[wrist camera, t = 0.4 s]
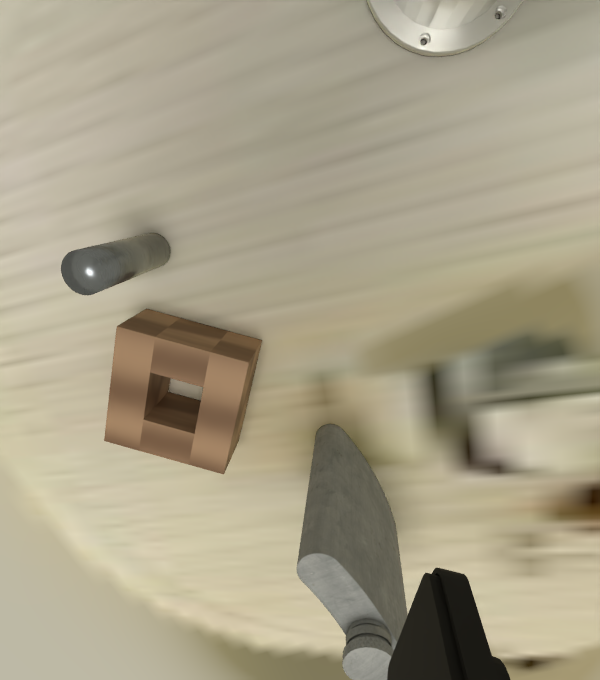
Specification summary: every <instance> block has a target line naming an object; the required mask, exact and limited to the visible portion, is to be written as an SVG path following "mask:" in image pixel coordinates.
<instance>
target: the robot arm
mask: <svg viewBox="0 0 600 680" xmlns="http://www.w3.org/2000/svg"><path fill="white" fill-rule="evenodd" d="M522 2H523V0H367V3H368V5H369V8H370V10H371V12H372V14H373V17H374V19H375V20H376V22H377V23H378V24H379V26H380V27H381V29H382V30H383V31H384V33H385V34H387V35H388V36H389V37H390V38H391V39H392V40H393V41H394V42H395V43H397V44H398V45H400V46H402V47H403V48H405V49H407V50H409V51H411V52H415V53H418V54H421V55H426V56H437V57H440V56H448V55H455V54H458V53H461V52H464V51H467V50H470V49H472V48H474V47H476V46H477V45H479V44H481V43H483V42H484V41H486V40H487V39H489V38H490V37H491V36H492V35H493V34H495V33H496V32H497V31H498V30H500V29H501V28H502V27H503V26H504V25H505V24H506V22H507V21H508V20H509V19H510V18H511V17H512V16H513V14H514V13H515V11H516V10H517V9H518V7H519V6H520V5H521V3H522ZM496 13H498V14H500V19H496V18H495V14H496ZM422 39H425V40H426V42H427V43H426V45H421V43H420V41H421V40H422ZM387 680H510V677H509V674H508V672H507V670H506V667H505V665H504V664H503V663H502V661H501V660H500V659H498V658H496V657H493V656H492V655H491V652H490V648H489V645H488V642H487V639H486V636H485V632H484V629H483V626H482V623H481V620H480V616H479V613H478V610H477V607H476V603H475V600H474V597H473V594H472V591H471V587H470V584H469V581H468V579H467V577H466V576H465V575H464V574H461V573H457V572H453V571H449V570H445V569H441V568H435V569H434V571H433V573H432V574H429V573H425V574H424V576H423V578H422V580H421V583H420V585H419V588H418V590H417V593H416V595H415V598H414V601H413V603H412V606H411V608H410V611H409V613H408V616H407V619H406V621H405V624H404V626H403V629H402V631H401V634H400V636H399V639H398V642H397V644H396V647H395V649H394V652H393V654H392V657H391V659H390V662H389V667H388V674H387Z"/></svg>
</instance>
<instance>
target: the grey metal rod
mask: <svg viewBox="0 0 600 680" xmlns="http://www.w3.org/2000/svg"><path fill="white" fill-rule="evenodd" d="M170 253H171V252H170V246H169V244H168V242H167V240H166V239H165V238H164V237H163V236H161V235H159V234H156V233H149V234H144V235H140V236H135V237H131V238H127V239H122V240H118V241H113V242H109V243H105V244H100V245H96V246H91V247H87V248H83V249H78V250H74V251H71V252H69V253H68V254H67V255H66V256H65V257H64V259H63V261H62V265H61V272H62V276H63V279H64V281H65V282H66V284H67V285H68V286H69V287H70V288H71V289H72V290H73V291H75V292H77V293H79V294H82V295H92V294H95V293H97V292H100V291H102V290H104V289H107V288H109V287H112V286H114V285H117V284H119V283H121V282H124V281H126V280H129V279H131V278H134V277H136V276H138V275H141V274H143V273H146V272H148V271H151V270H153V269H155V268H158V267H160V266H163V265H164V264H166V263H167V261H168V260H169V258H170Z"/></svg>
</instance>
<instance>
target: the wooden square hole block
mask: <svg viewBox="0 0 600 680" xmlns="http://www.w3.org/2000/svg"><path fill="white" fill-rule="evenodd" d="M261 343H262V340H259V339H255V338H252V337H248V336H244V335H241V334H237V333H233V332H230V331H226V330H222V329H219V328H215V327H211V326H208V325H204V324H200V323H197V322H193V321H189V320H186V319H182V318H178V317H175V316H171V315H167V314H164V313H160V312H156V311H153V310H149V309H145V310H144V311H142V312H140V313H139V314H137V315H135V316H134V317H132V318H130V319H128V320H127V321H125V322H123V323H122V324H120V325H118V326H117V329H116V338H115V347H114V356H113V366H112V375H111V384H110V393H109V402H108V411H107V420H106V429H105V439H104V441H107V442H110V443H114V444H117V445H121V446H125V447H128V448H132V449H135V450H139V451H142V452H146V453H150V454H153V455H157V456H160V457H164V458H167V459H171V460H175V461H178V462H182V463H185V464H189V465H192V466H196V467H200V468H203V469H207V470H210V471H214V472H217V473H221V474H224V473H225V470H226V468H227V466H228V464H229V461H230V459H231V457H232V455H233V452H234V450H235V448H236V446H237V443H238V441H239V437H240V433H241V429H242V424H243V420H244V416H245V411H246V407H247V403H248V398H249V394H250V390H251V386H252V381H253V377H254V373H255V368H256V364H257V360H258V355H259V351H260V347H261ZM170 378H172V379H176V380H179V381H183V382H186V383H190V384H194V385H197V386H201V387H203V392H202V398H201V401H199V400H195V399H192V398H188V397H184V396H181V395H177V394H173V393H170V392H168V390H169V384H170Z"/></svg>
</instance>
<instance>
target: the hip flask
mask: <svg viewBox="0 0 600 680" xmlns="http://www.w3.org/2000/svg"><path fill="white" fill-rule="evenodd" d="M297 574H298V576H299V578H300V579H301V581H302V582H303V583H304V584H305V585H306V586H307V587H308V588H309V589H310V590H311V591H312V592H313V593H314V594H315V595H316V596H317V598H318V599H319V600H320V601H321V602H322V603H323V605H324V606H325V607H326V608H327V609H328V611H329V612H330V613H331V615H332V616H333V617H334V619H335V620H336V621H337V623H338V624H339V626H340V627H341V628H342V630H343V632H344V633H345V635H346V646H345V647H344V650H343V669H344V672H346V675H348V676H349V678H351V679H352V680H387V674H388V667H389V662H390V659H391V657H392V654H393V652H394V649H395V647H396V644H397V642H398V639H399V636H400V634H401V631H402V629H403V626H404V624H405V621H406V619H407V608H406V600H405V593H404V585H403V577H402V570H401V562H400V554H399V547H398V539H397V531H396V525H395V521H394V518H393V515H392V512H391V509H390V506H389V503H388V501H387V499H386V496H385V494H384V492H383V490H382V488H381V486H380V484H379V482H378V480H377V478H376V476H375V474H374V473H373V471H372V469H371V467H370V466H369V464H368V462H367V461H366V459H365V458H364V456H363V455H362V453H361V452H360V451H359V449H358V448H357V446H356V445H355V444H354V443H353V441H352V440H351V439H350V438H349V436H348V435H347V434H346V433H345V432H344V431H343V429H341V428H340V427H339V426H337V425H333V424H327V425H324V426H322V427H320V428H319V429H318V431H317V433H316V438H315V445H314V452H313V459H312V466H311V473H310V480H309V487H308V494H307V500H306V507H305V514H304V521H303V528H302V535H301V542H300V549H299V556H298V563H297Z"/></svg>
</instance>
